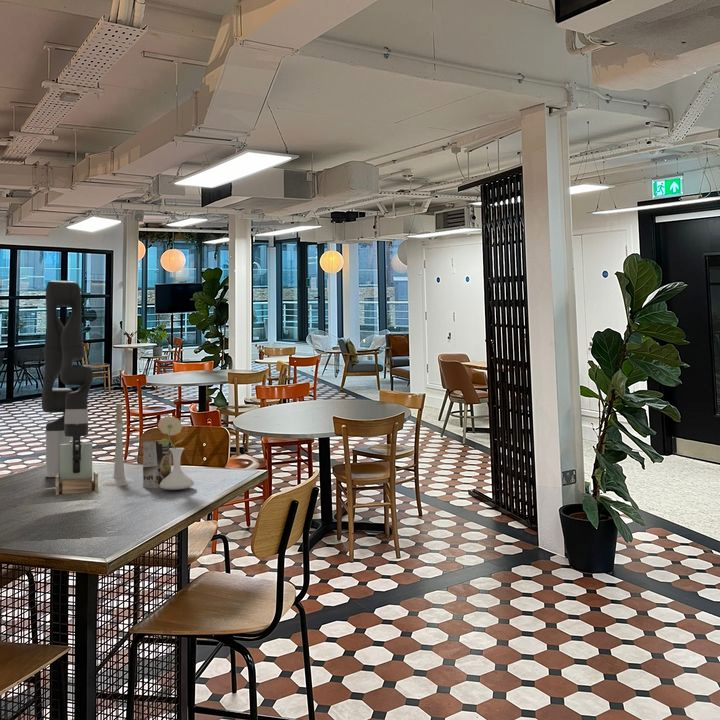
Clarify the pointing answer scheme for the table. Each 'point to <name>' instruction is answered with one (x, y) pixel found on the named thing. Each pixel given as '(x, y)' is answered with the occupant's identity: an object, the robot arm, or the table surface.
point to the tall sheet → (67, 462)
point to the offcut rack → (94, 483)
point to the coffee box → (155, 463)
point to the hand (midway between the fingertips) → (76, 472)
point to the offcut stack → (76, 485)
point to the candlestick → (118, 455)
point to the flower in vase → (174, 456)
